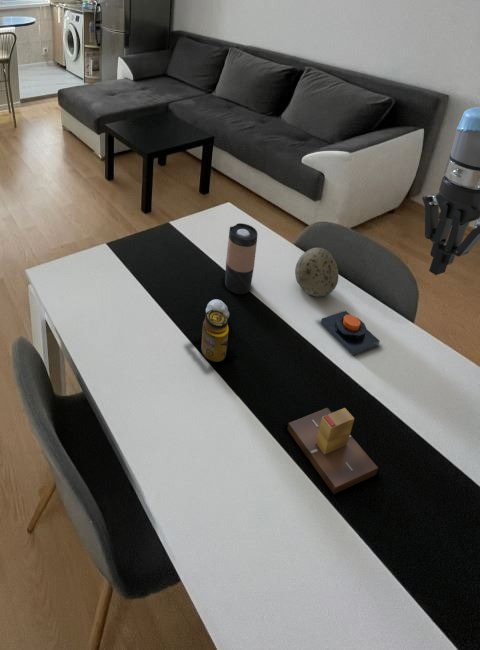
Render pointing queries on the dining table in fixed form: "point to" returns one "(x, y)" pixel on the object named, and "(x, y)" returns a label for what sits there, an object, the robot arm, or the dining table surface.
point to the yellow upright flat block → (334, 430)
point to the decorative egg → (317, 272)
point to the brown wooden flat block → (332, 455)
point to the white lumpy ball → (217, 307)
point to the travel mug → (240, 258)
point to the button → (351, 322)
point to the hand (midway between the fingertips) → (436, 271)
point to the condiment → (215, 335)
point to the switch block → (349, 334)
